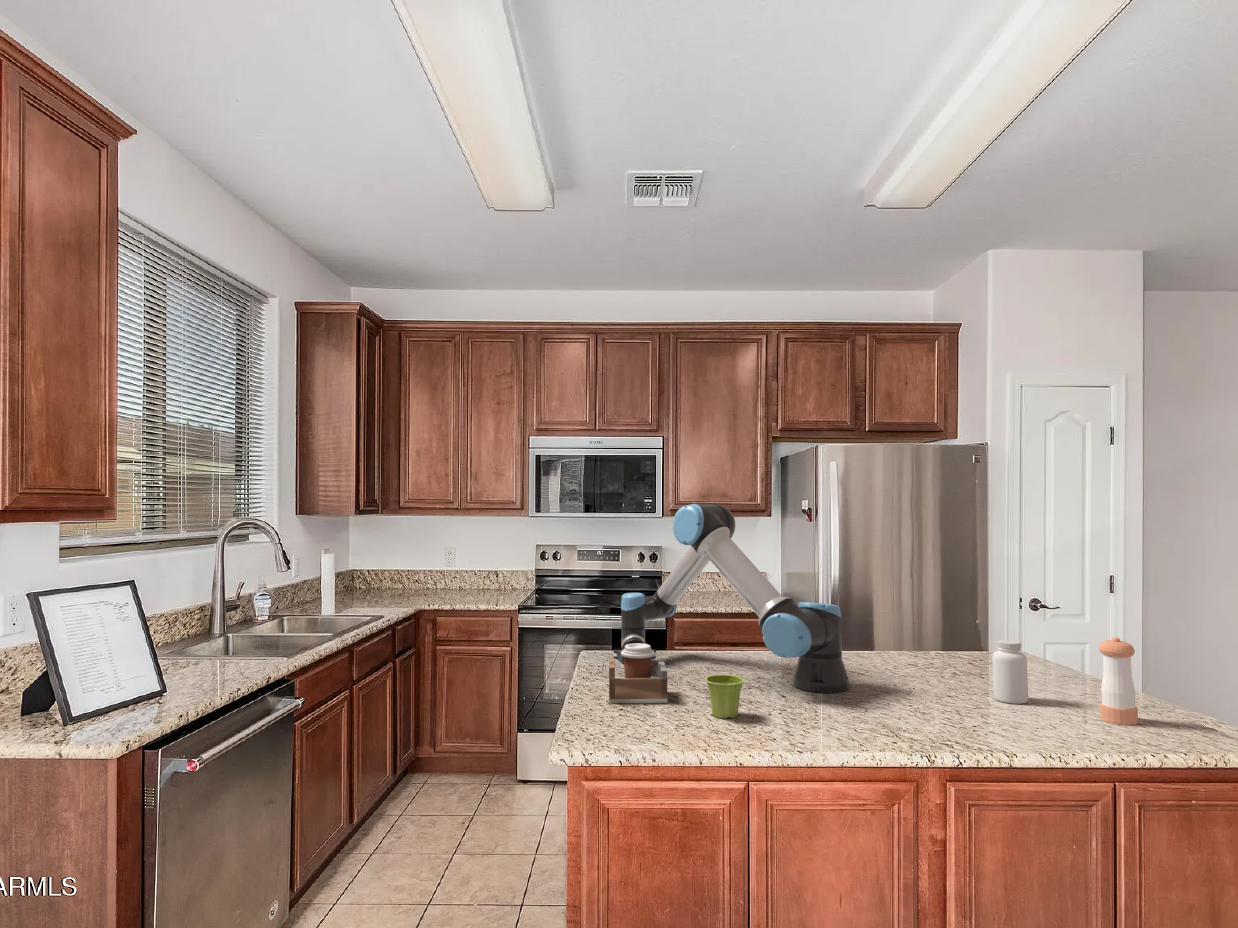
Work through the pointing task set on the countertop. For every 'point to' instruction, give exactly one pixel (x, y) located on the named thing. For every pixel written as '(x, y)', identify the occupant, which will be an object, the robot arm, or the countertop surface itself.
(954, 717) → the countertop surface
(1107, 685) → the pepper shaker
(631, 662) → the coffee cup
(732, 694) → the plant pot
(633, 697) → the shelf
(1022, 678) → the pill bottle
